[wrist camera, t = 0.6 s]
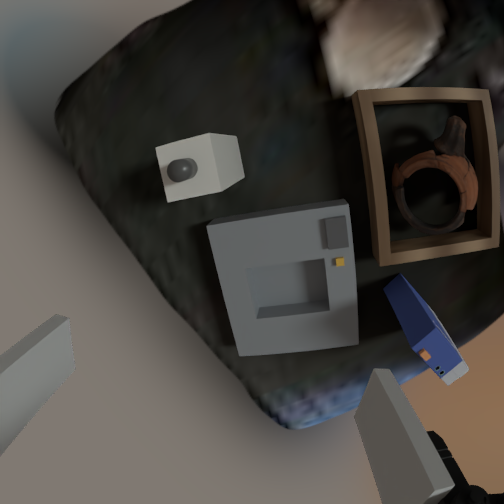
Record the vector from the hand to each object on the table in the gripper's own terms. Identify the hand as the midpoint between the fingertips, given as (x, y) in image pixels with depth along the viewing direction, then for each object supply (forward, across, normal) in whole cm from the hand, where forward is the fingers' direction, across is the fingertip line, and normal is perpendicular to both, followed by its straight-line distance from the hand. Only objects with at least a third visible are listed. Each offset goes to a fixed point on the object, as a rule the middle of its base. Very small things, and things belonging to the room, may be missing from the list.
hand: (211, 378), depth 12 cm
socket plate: (+23, +5, -2) cm, 24 cm away
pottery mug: (+20, +18, +12) cm, 30 cm away
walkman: (+22, +20, -2) cm, 30 cm away
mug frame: (+20, +18, +12) cm, 30 cm away
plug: (+22, -4, +9) cm, 25 cm away
